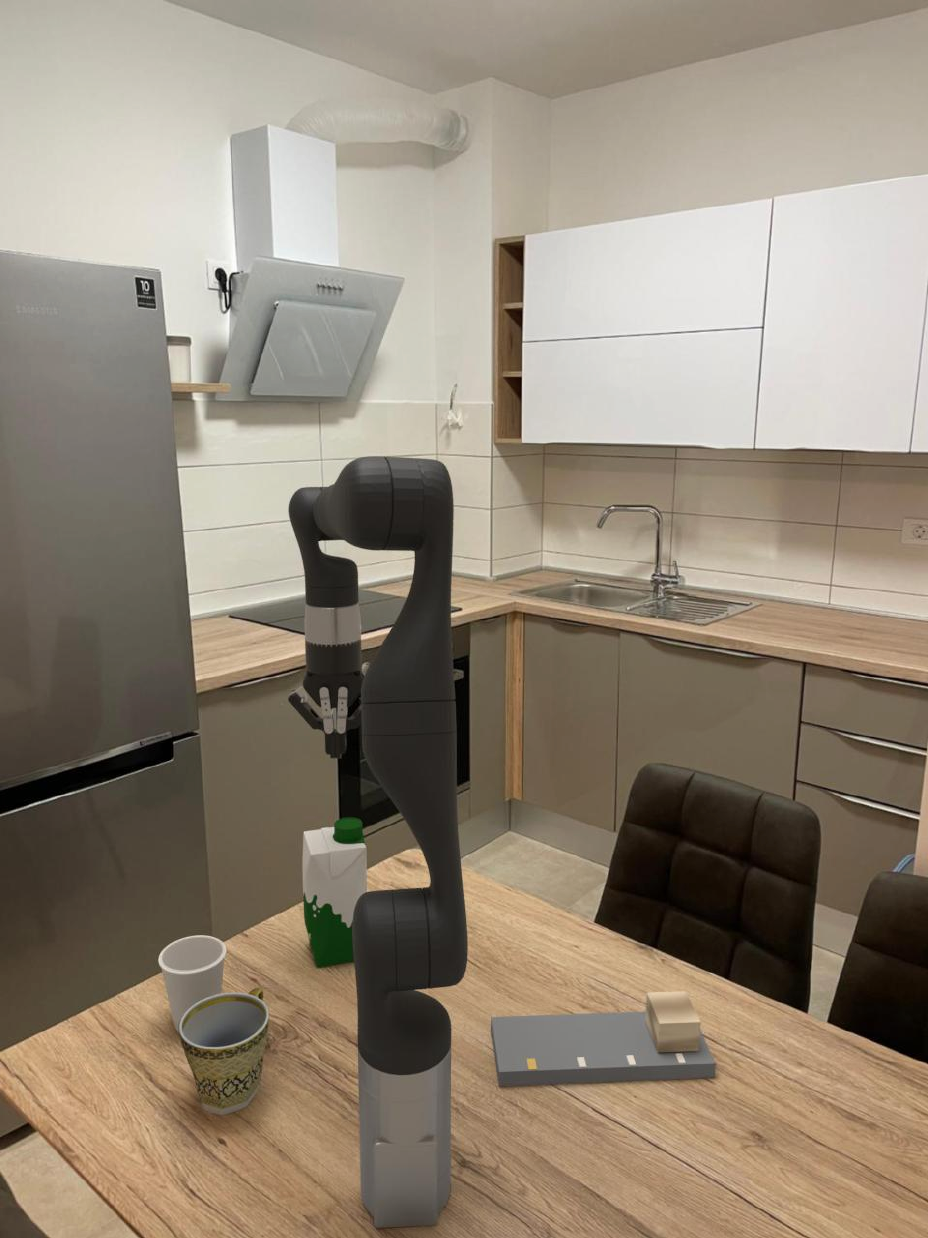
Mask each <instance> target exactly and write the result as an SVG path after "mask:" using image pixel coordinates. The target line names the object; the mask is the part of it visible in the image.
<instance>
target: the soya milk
mask: <svg viewBox="0 0 928 1238" xmlns="http://www.w3.org/2000/svg"><path fill="white" fill-rule="evenodd" d="M363 831H364V829H363V822H362V820H361V819H359V818H357V817H342V818H340V819H337V820H336V821H335V822H334V824H333V826H331V827H328V826H326V827H321V828H319V829H313V830H306V831H303V837H302V863H301V864H302V865H301V866H302V867H301V868H302V870H301V872H302V894H303V895H302V897H303V901H302V902H303V920H304V925H305V929H306V934H307V936H308V940H309V944H310V947H311V952H312V956H313V959H314V963H315V967H316V968H317V969H318V968H323V967H324V968H325V967H329V966H330V967H331V966H336V965H342V964H347V963H354V954H353V940H352V923H353V913H354V908H355V905H356V903H357V900H358V899H359V897H360V896H361V895H362V894H363V893H366V892H368V869H367V868H368V867H367V864H368V863H367V862H368V861H367V859H368V858H367V857H368V856H367V846H366V841H365V835H364V833H363Z"/></svg>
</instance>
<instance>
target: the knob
mask: <svg viewBox="0 0 928 1238" xmlns="http://www.w3.org/2000/svg"><path fill="white" fill-rule="evenodd" d="M645 999H646V1000H645V1001H646V1002H645V1004H646V1005H645V1011H646V1015H645V1021H646V1024H647V1026H648V1029H649V1031H650V1034H651V1036H652V1039H653V1041H654V1044H655V1046H656V1049H657V1052H683V1051H698V1050H699V1036H700V1031H701V1020H700V1018H699V1015H698V1014H697V1011H696V1010H695V1008H694V1006H693V1003H692V1001H691V999H690V997H689V995H688V993H687V991H685V990H684V991H683V990H681V991H679V990H678V991H656V992H654V991H651V992H646V998H645Z"/></svg>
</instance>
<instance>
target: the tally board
mask: <svg viewBox="0 0 928 1238" xmlns="http://www.w3.org/2000/svg"><path fill="white" fill-rule="evenodd" d="M645 1015H646V1010H645V1011H624V1012H623V1011H622V1012H621V1011H620V1012H598V1013H597V1012H595V1013H593V1012H592V1013H569V1014H568V1013H567V1014H565V1013H564V1014H540V1015H539V1014H537V1015H536V1014H535V1015H511V1016H490V1033H491V1034H490V1035H491V1040H492V1047H493V1055H494V1062H495V1068H496V1076H497V1083H498V1087H500V1088H501V1087H517V1086H518V1087H520V1086H521V1087H522V1086H525V1087H526V1086H545V1085H546V1086H547V1085H570V1084H573V1085H575V1084H590V1083H591V1084H592V1083H593V1084H594V1083H596V1084H597V1083H618V1082H620V1083H621V1082H638V1081H639V1082H643V1081H666V1080H667V1081H668V1080H690V1079H691V1080H693V1079H714V1078H716V1069H717V1068H716V1067H717V1065H716V1064H717V1063H716V1061H715V1058H714V1057H713V1056H714V1055H713V1054H712V1052H711V1050H710V1048H709V1046H708V1044H707V1042H706V1040H705V1037H704V1035H703V1033H702V1031H701V1030H700V1036H699V1050H698V1051H683V1052H657V1049H656V1046H655V1044H654V1041H653V1039H652V1036H651V1034H650V1031H649V1029H648V1026H647V1024H646V1021H645Z"/></svg>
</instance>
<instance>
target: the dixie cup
mask: <svg viewBox="0 0 928 1238" xmlns="http://www.w3.org/2000/svg"><path fill="white" fill-rule="evenodd" d="M226 955H227V946H226V945H225V943H224V942H223V941H222V940H221V939H219V938H217V937H214V936H211V935H201V934H199V935H190V936H186V937H182V938H180V939H177V940H174V941H173V942H171V943H169V944H168V945H167V946H165V947H164V948H163V949H162V950H161V952H160V954H159V956H158V964H159V967H160V968H161V972H162V976H163V980H164V986H165V989H166V994H167V999H168V1003H169V1008H170V1013H171V1017H172V1020H173V1021H172V1022H173V1025H174V1029H175V1031H176V1032H177V1033H179V1030H178V1026H179V1022H180V1019H181V1017H182V1016H183V1014H184V1013H185V1012H186V1011H187V1010H188V1009H189V1008H190V1007H191V1006H193V1005H194V1004H196V1003H197V1002H199V1001H201V1000H203V999H205V998H208V997H210V996H213V995H217V994H222V991H223V977H224V966H225V964H224V963H225V958H226Z"/></svg>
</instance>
